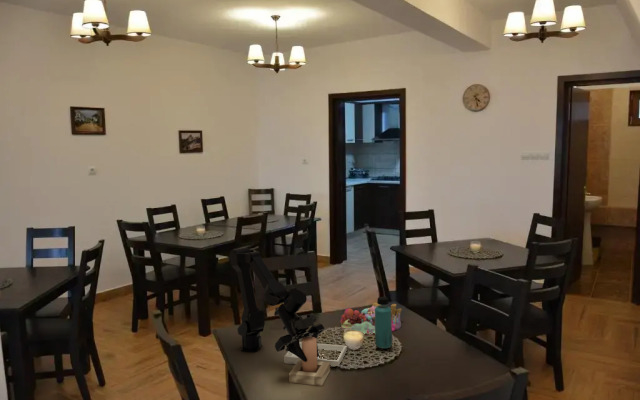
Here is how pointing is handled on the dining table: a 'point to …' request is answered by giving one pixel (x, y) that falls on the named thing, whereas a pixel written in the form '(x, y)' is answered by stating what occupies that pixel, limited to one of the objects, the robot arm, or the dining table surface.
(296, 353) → the robot arm
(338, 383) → the dining table surface
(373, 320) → the candy landscape model
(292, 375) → the holder
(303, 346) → the dowel
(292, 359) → the tray
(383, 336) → the beverage bottle
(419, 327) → the dining table surface
